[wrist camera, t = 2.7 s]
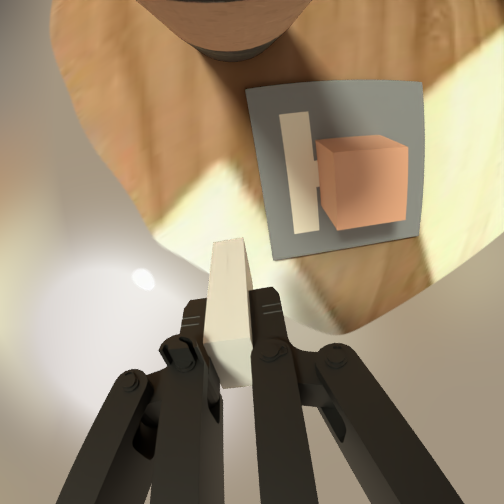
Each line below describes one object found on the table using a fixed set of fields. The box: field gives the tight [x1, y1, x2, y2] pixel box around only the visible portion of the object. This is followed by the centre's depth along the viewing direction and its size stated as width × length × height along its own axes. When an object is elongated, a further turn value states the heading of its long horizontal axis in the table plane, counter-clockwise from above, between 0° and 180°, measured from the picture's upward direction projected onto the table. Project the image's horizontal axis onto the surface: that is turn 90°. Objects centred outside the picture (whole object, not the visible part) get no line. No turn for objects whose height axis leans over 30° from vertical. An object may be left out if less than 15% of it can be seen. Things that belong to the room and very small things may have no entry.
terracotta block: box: [315, 135, 408, 231], centre depth 22 cm, size 6×6×5 cm
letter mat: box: [245, 80, 425, 260], centre depth 25 cm, size 16×16×1 cm
